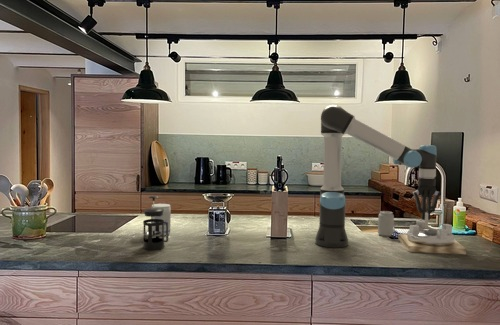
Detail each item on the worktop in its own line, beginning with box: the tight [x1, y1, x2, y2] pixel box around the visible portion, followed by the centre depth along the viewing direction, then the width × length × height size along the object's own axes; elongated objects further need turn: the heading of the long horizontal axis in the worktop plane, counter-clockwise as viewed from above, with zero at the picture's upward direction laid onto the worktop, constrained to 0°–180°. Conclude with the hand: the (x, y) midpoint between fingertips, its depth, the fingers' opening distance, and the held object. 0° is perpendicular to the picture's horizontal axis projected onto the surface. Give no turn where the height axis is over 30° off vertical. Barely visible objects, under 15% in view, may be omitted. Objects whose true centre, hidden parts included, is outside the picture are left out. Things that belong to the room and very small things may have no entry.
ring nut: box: [406, 220, 455, 246], centre depth 198 cm, size 20×20×7 cm
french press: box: [142, 195, 169, 251], centre depth 189 cm, size 12×9×23 cm
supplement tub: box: [150, 203, 172, 236], centre depth 214 cm, size 10×10×15 cm
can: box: [377, 210, 395, 237], centre depth 218 cm, size 8×8×12 cm
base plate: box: [397, 233, 467, 255], centre depth 198 cm, size 24×22×3 cm
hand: (425, 226), depth 206 cm, fingers closed
